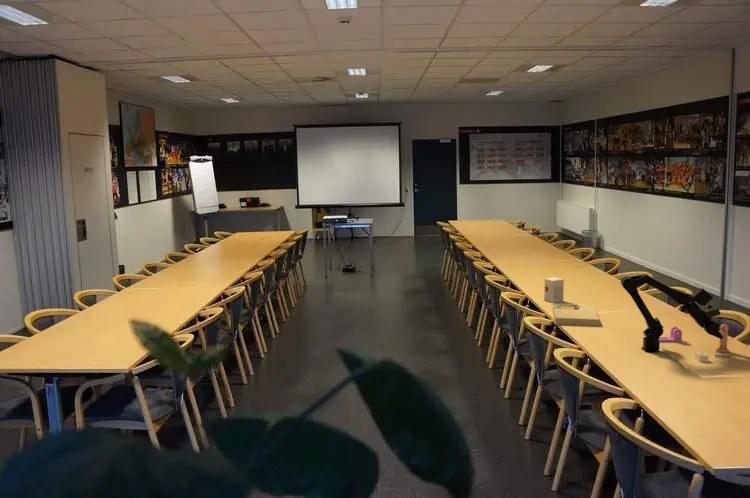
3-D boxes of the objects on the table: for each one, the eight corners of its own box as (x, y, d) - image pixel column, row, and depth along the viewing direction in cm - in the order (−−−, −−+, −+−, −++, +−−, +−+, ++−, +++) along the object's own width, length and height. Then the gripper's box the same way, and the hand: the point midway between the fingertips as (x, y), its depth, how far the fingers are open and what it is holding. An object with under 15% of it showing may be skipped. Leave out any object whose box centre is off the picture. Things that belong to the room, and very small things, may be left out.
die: (699, 364, 292) (699, 355, 291) (694, 361, 296) (695, 352, 295) (707, 363, 292) (708, 355, 291) (703, 361, 296) (703, 352, 295)
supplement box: (543, 300, 422) (544, 278, 420) (554, 299, 426) (554, 276, 423) (552, 303, 414) (553, 280, 412) (563, 301, 418) (564, 279, 415)
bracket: (677, 339, 330) (678, 326, 329) (681, 342, 325) (682, 329, 324) (651, 339, 332) (651, 326, 331) (654, 342, 326) (655, 329, 325)
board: (729, 364, 290) (729, 362, 290) (713, 362, 294) (713, 360, 293) (730, 352, 307) (731, 350, 307) (715, 350, 311) (715, 348, 310)
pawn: (724, 353, 303) (725, 326, 301) (715, 350, 307) (716, 323, 305) (730, 351, 305) (732, 324, 303) (721, 349, 309) (723, 322, 307)
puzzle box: (554, 325, 363) (599, 327, 358) (554, 317, 363) (599, 319, 357) (552, 310, 398) (593, 311, 393) (552, 303, 397) (593, 304, 392)
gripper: (715, 305, 295) (740, 330, 294) (703, 296, 313) (726, 319, 312) (696, 321, 297) (720, 345, 297) (685, 311, 316) (708, 334, 315)
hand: (719, 335), depth 305 cm, fingers open, 9 cm apart
